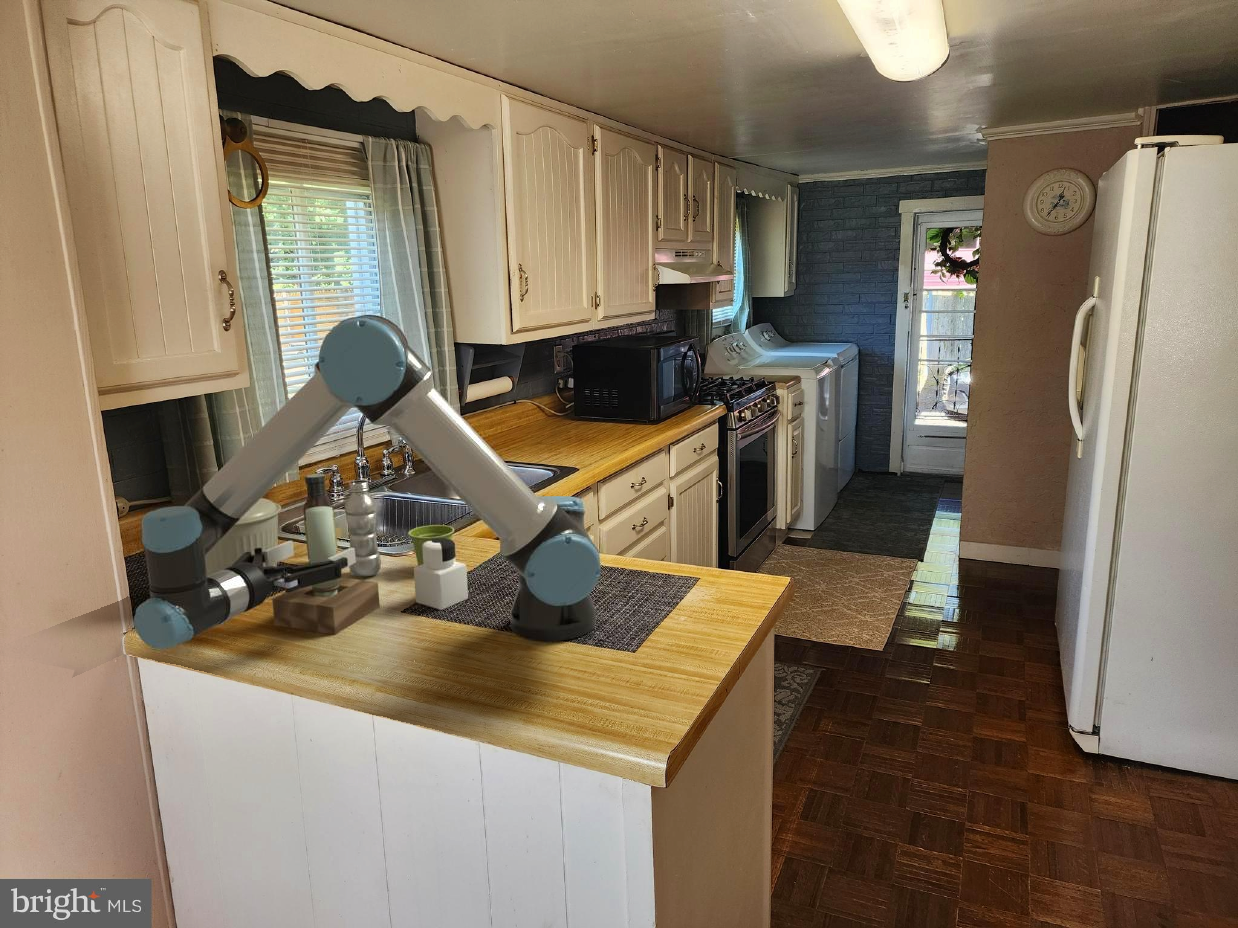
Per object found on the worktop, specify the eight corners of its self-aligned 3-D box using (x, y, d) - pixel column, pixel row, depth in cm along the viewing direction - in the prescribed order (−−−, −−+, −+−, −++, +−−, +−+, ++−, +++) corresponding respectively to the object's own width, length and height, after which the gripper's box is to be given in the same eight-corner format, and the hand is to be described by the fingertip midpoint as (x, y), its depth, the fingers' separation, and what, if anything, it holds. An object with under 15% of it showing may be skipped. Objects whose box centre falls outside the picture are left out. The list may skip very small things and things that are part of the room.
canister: (236, 573, 179) (225, 476, 175) (308, 581, 174) (298, 481, 169) (167, 603, 162) (153, 497, 158) (245, 613, 157) (232, 504, 152)
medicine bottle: (443, 591, 167) (439, 533, 164) (468, 598, 163) (465, 539, 160) (415, 602, 161) (410, 542, 158) (441, 610, 157) (437, 549, 154)
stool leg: (347, 611, 156) (338, 507, 152) (330, 621, 152) (321, 513, 148) (326, 609, 158) (316, 505, 154) (309, 618, 154) (299, 511, 149)
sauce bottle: (341, 566, 182) (333, 476, 178) (310, 571, 180) (301, 480, 175) (336, 557, 188) (328, 470, 184) (306, 562, 185) (298, 474, 181)
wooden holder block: (379, 607, 159) (377, 582, 158) (335, 634, 147) (333, 607, 146) (322, 599, 163) (320, 575, 162) (274, 625, 151) (272, 598, 150)
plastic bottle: (369, 567, 181) (362, 476, 177) (388, 574, 177) (381, 481, 173) (343, 575, 176) (334, 482, 172) (362, 582, 172) (354, 487, 168)
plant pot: (403, 569, 180) (400, 530, 178) (442, 559, 186) (440, 521, 184) (424, 581, 173) (421, 540, 171) (464, 570, 179) (462, 531, 177)
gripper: (175, 604, 138) (269, 564, 158) (299, 623, 130) (381, 578, 149) (169, 560, 137) (265, 525, 156) (294, 577, 128) (378, 537, 148)
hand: (322, 551), depth 153 cm, fingers open, 13 cm apart
